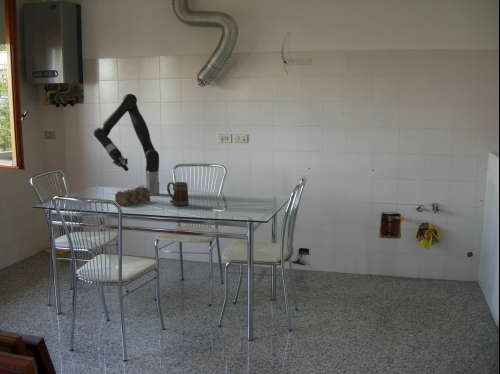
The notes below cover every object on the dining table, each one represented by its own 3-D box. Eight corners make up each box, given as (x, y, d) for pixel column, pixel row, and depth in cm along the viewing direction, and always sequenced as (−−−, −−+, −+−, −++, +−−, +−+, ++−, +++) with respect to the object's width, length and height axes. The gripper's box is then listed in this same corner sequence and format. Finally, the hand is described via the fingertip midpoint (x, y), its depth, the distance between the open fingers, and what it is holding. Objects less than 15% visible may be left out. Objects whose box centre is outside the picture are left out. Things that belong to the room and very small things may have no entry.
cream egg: (140, 187, 342) (140, 184, 342) (146, 187, 340) (146, 185, 340) (136, 188, 338) (136, 185, 338) (141, 188, 336) (141, 185, 336)
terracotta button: (132, 191, 336) (132, 188, 335) (138, 191, 333) (137, 189, 333) (128, 192, 332) (127, 189, 331) (133, 192, 329) (133, 189, 329)
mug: (191, 204, 333) (191, 182, 331) (183, 207, 323) (183, 184, 321) (172, 202, 339) (172, 180, 337) (163, 204, 330) (163, 182, 327)
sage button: (124, 192, 329) (124, 189, 328) (129, 193, 326) (129, 190, 326) (119, 193, 325) (119, 190, 324) (124, 194, 323) (124, 191, 322)
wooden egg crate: (140, 199, 346) (140, 186, 345) (150, 201, 342) (149, 188, 340) (115, 205, 325) (115, 191, 324) (125, 206, 321) (124, 193, 320)
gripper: (108, 148, 336) (123, 167, 333) (122, 147, 348) (136, 165, 344) (103, 155, 340) (117, 175, 336) (117, 154, 351) (131, 172, 347)
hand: (127, 170), depth 340 cm, fingers closed
